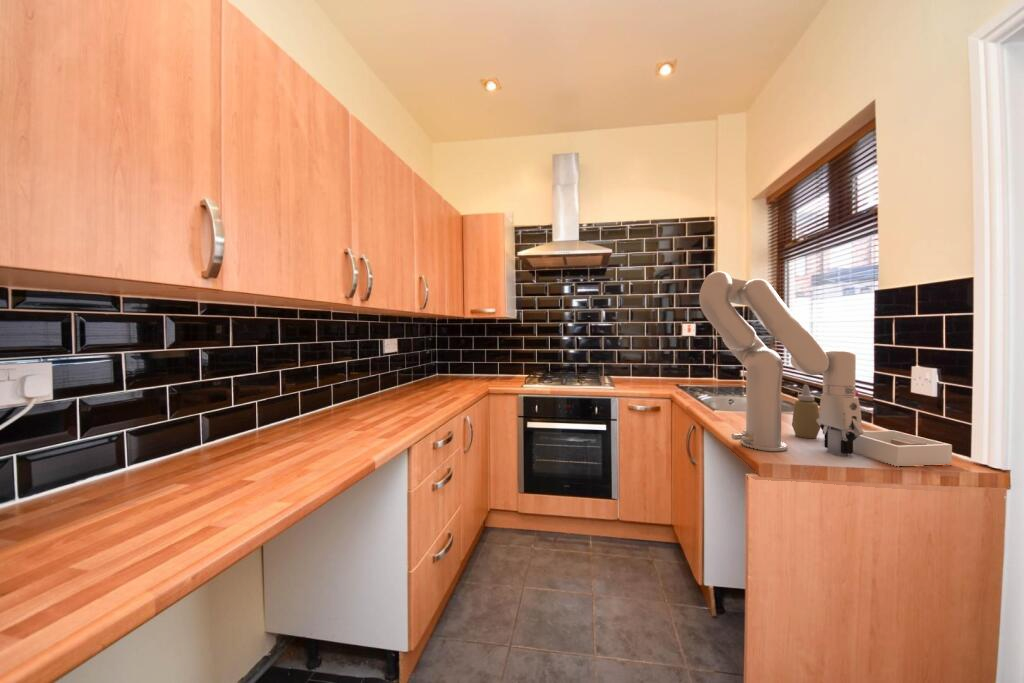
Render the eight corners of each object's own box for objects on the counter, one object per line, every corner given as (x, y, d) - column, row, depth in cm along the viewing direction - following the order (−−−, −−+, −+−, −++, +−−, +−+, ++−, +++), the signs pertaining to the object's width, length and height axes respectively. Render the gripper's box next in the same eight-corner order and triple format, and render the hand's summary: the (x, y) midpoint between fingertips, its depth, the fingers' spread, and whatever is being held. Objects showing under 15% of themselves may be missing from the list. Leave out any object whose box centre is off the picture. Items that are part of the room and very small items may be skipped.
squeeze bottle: (826, 438, 133) (826, 385, 133) (809, 440, 131) (809, 387, 130) (802, 432, 141) (803, 383, 140) (786, 434, 139) (786, 384, 138)
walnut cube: (909, 462, 107) (909, 444, 107) (890, 456, 112) (890, 439, 112) (926, 461, 108) (926, 443, 107) (906, 455, 113) (907, 438, 112)
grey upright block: (837, 455, 115) (837, 432, 115) (823, 450, 120) (823, 428, 120) (853, 455, 115) (854, 432, 115) (838, 450, 120) (838, 427, 120)
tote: (897, 467, 105) (897, 446, 105) (845, 449, 121) (845, 431, 121) (951, 465, 106) (952, 444, 106) (892, 447, 122) (892, 430, 121)
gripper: (878, 395, 109) (878, 459, 109) (826, 386, 126) (825, 442, 126) (853, 395, 108) (852, 460, 109) (804, 386, 125) (803, 442, 126)
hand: (838, 449), depth 118 cm, fingers closed on grey upright block, 5 cm apart
